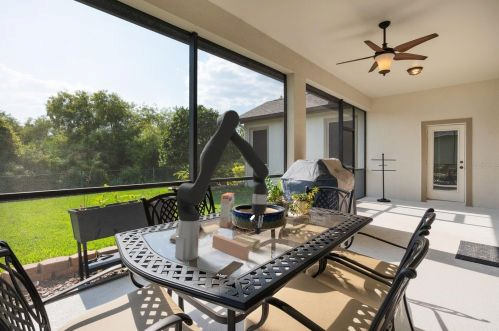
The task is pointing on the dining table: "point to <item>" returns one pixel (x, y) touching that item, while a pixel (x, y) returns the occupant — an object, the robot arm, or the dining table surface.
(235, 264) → the wooden plank
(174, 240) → the long grey stone
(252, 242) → the birch block
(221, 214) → the cracker box
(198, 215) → the robot arm
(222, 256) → the dining table surface
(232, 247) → the board
